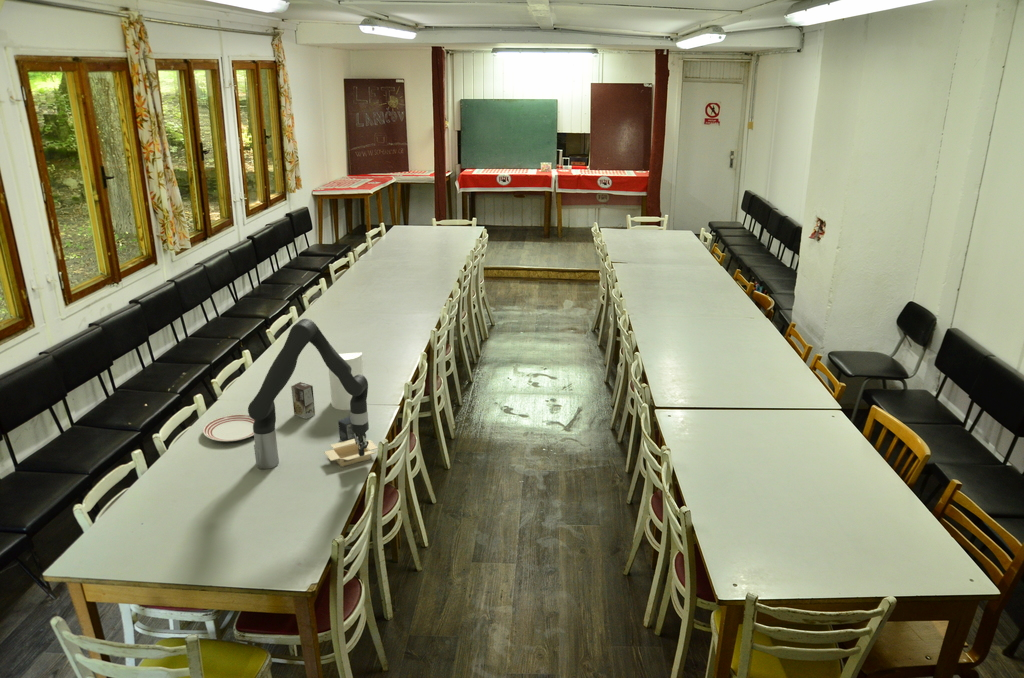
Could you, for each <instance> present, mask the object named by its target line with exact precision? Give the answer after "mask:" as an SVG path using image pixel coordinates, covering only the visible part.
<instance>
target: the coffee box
mask: <svg viewBox="0 0 1024 678" xmlns="http://www.w3.org/2000/svg"><path fill="white" fill-rule="evenodd" d="M290 387H291V388H290V389H291V398H292V407H293V415H294V416H297V417H300V418H303V419H305V420H308V419H309V418H311V417H313V416H315V415H316V410H315V398H314V397H315V396H314V388H313V387H314V386H313V385H312V384H308V383H305V382H303V381H302V382H301V381H300V382H297V383H295V384H294V385H291V386H290Z"/></svg>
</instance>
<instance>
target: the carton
mask: <svg viewBox="0 0 1024 678" xmlns="http://www.w3.org/2000/svg"><path fill="white" fill-rule="evenodd" d="M367 441H368V442H369V444H368V446H367V448H366V449H364V452H368V451H374V450H378V449H379V448H378V446H377V445H376V444H375V443H374V442H373V441H372V440H371V439H369V440H367ZM330 447H331V448H332V449H329V450H326V451H323V452H324V455H326V457H327V458H328V459H329V461H331V462H333V461H336V462H337V464H338V465H339V467H340V468H343V467H346V466H350V465H353V464H354V465H355V464H357V463H361V462H365V461H368V460H371V454H370V455H366V456H362V457H359V458H355V459H351V460H344V459H342V458H345V457H349V456H353V455H357V454H359V452H358V448H359V447H357V445H356V442H355V439H351V440H347V441H344V442H343V441H341V442H340V441H339V442H335V443H332V444H330Z"/></svg>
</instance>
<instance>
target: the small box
mask: <svg viewBox="0 0 1024 678" xmlns="http://www.w3.org/2000/svg"><path fill="white" fill-rule="evenodd" d="M337 422H338V434H339V441H341V442H344V441H347V440H351V439H354V435H353V432H352V430H351V419H350V415H348V416H346V417H344V418H342V419H340V420H337Z"/></svg>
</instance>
